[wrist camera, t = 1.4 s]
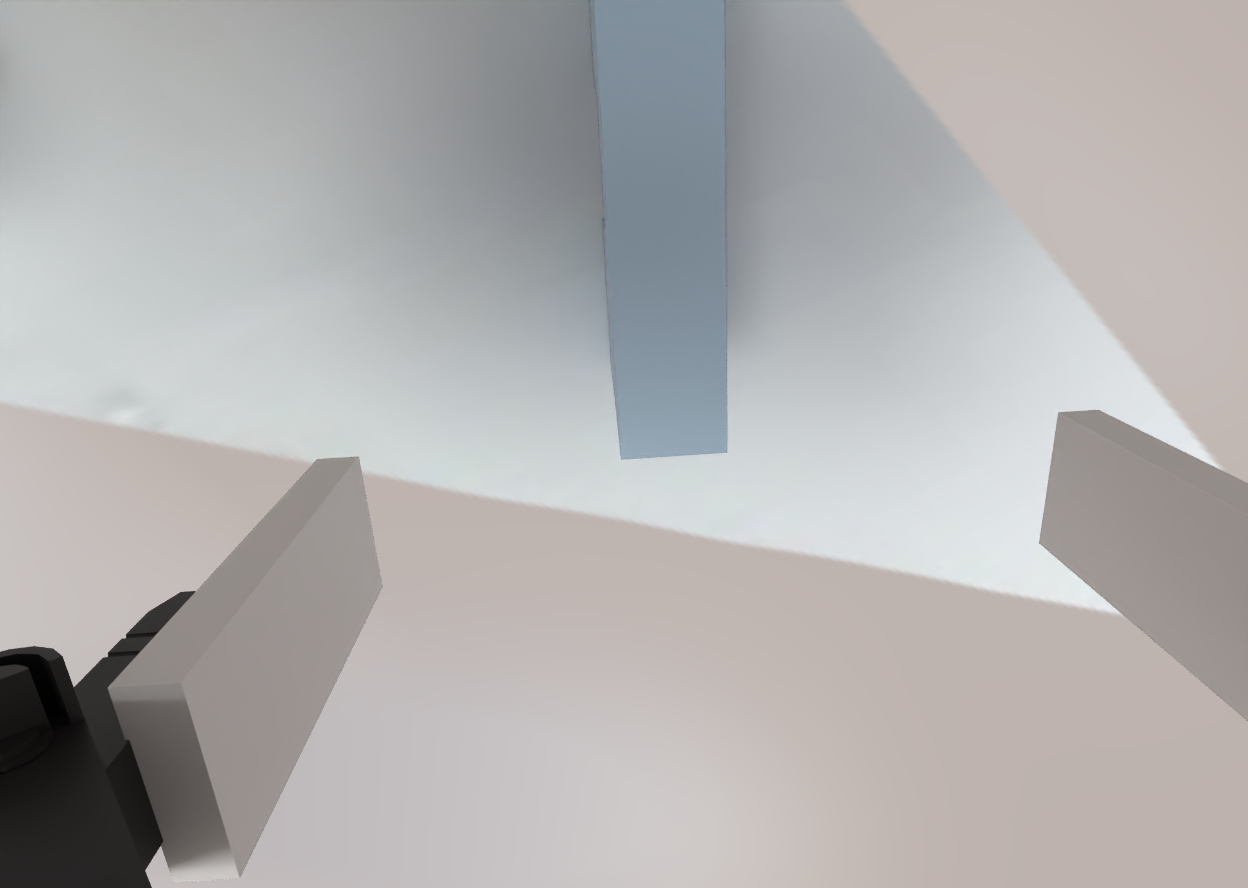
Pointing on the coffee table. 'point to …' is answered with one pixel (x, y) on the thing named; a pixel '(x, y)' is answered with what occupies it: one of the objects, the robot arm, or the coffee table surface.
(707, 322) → the blue bridge block
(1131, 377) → the coffee table surface
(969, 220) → the coffee table surface
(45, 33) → the coffee table surface
